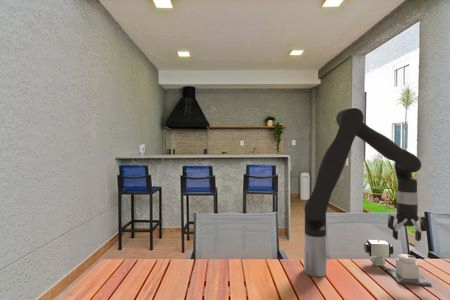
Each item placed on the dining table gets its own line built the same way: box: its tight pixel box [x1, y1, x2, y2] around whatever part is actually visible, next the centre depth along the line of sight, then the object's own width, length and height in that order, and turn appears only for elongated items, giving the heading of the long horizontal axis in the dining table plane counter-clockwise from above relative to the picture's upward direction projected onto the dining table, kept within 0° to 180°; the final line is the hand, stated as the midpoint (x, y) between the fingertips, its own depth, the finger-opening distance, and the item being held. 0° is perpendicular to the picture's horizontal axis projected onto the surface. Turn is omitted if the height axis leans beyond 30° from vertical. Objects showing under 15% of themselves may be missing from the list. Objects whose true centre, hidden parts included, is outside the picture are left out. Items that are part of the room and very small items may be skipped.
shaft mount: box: [385, 267, 432, 287], centre depth 119 cm, size 12×13×6 cm
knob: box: [395, 253, 420, 279], centre depth 119 cm, size 6×6×8 cm
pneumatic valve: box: [363, 239, 394, 267], centre depth 133 cm, size 6×12×12 cm, turn 78°
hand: (406, 239), depth 119 cm, fingers open, 8 cm apart
